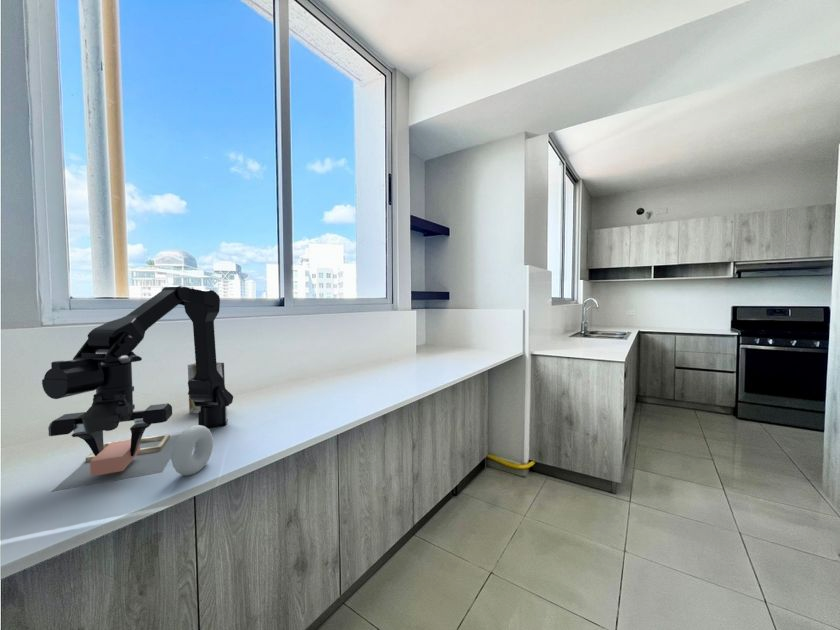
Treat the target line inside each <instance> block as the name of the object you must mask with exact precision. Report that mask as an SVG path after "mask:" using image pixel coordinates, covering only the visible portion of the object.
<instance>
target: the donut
mask: <svg viewBox="0 0 840 630" xmlns="http://www.w3.org/2000/svg"><path fill="white" fill-rule="evenodd" d="M180 434H181V435H180V436H179V437H178V439H177V441H176V443H175V445H174V448H173V451H172V457H171V462H172V466H173V468H174V470H175V472H176V473H177V474H179V475H181V476H193V475H195V474H196V473H198V472H200V471H201V470H202V469H203V468H204V467H205V466H206V464H208V462H209V460H210V458H211V455H212V452H213V448H214V439H213V434H212V432H211V431H210V429H208V428H207V427H205V426H201V425H198V424H196V425H192V426H189V427H188V428H186V429H185V430H183V431H182V432H181V433H180ZM193 449H194V452H193Z"/></svg>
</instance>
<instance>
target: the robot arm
mask: <svg viewBox="0 0 840 630" xmlns="http://www.w3.org/2000/svg"><path fill="white" fill-rule="evenodd" d="M178 305H180V306H184V312H185V314H186V315H187V317H188V318H189V319H190V321H191V322H192V328H193V343H194V357H195V358H194V359H195V363H196V374H195V376H194V378H193V379H192V380H189V381H188V380H187V387H188V392H187V395H188V396H189V395H190V397H191V399H192V400H193V402H194V405H195V406H196V407H197V406H201V408H200V411H199V413H197V415H198V416H197V418H198V419H197V422H198V424H197V425H201V426H205V427H207V428H208V429H209V430H210V429H215V428H223V427H227V425H228V421H229V419H228V408H227V407H230V405H231V404H233V401H234V395H233V394H232V393H231V392H230V391H229V390H227V388H226V384H224V379H223V378H222V376H221V375H220V374H219V372H218V371H217V364H216V362H217V353H216V352H217V351H216V337H215V323H214V322H215V319H216V318H217V316H218V314H219V313H220V307H221V306H220V305H221V298H220V295H219V294H218V293H217V292H216V291H215V290H212V289H195V288H191V287H187V286H183V285H167V286H165V287H163V288H162V289H161V291H159V292H158V293H157V294H155V295H154V296H153V297H151V298H149V299H148V300H147V301H145V302H143V303H142V304H141V305H139V306H138V307H137V308H136V309H134V310H133V311H131V312H130V313H128V314H127V315H125V316H122V317H121V318H117V319H114V320H111V321H108V322H106V323H103V324H101V325H99V326H97V327H95V328H92V330H90V332H88V333H87V339H86V341H85V342H84V343H83V345H82V346H81V348H80V349H79V350H78V351H77V353H76V354H75V355H74V356H73V358H72V359H71V360H56V361H55V360H54V361H52V362H50V365H51V368H50V369H48V370H47V371H46V373H45V374H44V377H43V379H42V380H41V385H42V388H43V392H44V393H45V394H46V396H47V397H49V398H50V399H53V400H59V399H63V398H66V397H73V396H76V395H81V394H85V393H90V392H93V391H95V394H93V398H92V404H91V406H90V407H88V409H87V410H86V411H83V412H73V413H65V414H63V415H61V416H59V417H58V418H55V419H53V420H52V421H51V422H50V423H49V425H48V427H47V428H48V436H49V437H57V436H63V435H70V434H71V433H72V432H73V433H72V434H71V435H70V436H71V437H72V438H79V439H82V440H83V441H84V442H85V443H86V444H87V446H88V447H89V448H90V450H91V452H93V453H94V455H95V456H97V455H98V454H99V453H100V452H101V451H102V450H103V449H104V444H103V443H104V431H105V432H110V431H113V430H115V429H117V428H118V426H119V424H120V423H123V422H132V421H133V422H134V424H133V425H132V426H131V427H130V428H129V430H130V434H131V436H130V437H131V438H130V439H131V448H130V452H131V456H134V455H135V453H136V450H137V448H138V445H139V443H140V440H141V438H143V435H144V433H145V431H146V429H148V428H149V427H151V425H155V424H160V423H161V424H162V423H166V422H167V421H168V420H169V419H170V418H171V417H172V415H173V407H172V405H171V404H170V403H160V404H159V403H157V404H150V405H149V406H148V407H147V408H146V409H144V410H135V409H136V408H135V403H134V398H133V397H134V396H133V394H134V391H135V386H134V385H133V370H132V369H133V368H132V365H133V364H132V363H136V362H141V361H142V359H143V358H142V357H141V356H139V355H137V354H136V353H135V352H133V351H134V350H135V349H136V348H137V347H138V346H139V344H140V343H141V342H142V341H143V340H144V337H145V334H146V332H147V330H149V329H150V328H151V327H152V326H153V325H155V324H156V323H157V322H159V320H161V319H162V318H163V317H164V316H166V315H167V314H168V313H170V312H171V311H172V310H173V309H175V308H176V307H177V306H178ZM134 410H135V411H134Z"/></svg>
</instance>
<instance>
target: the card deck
mask: <svg viewBox="0 0 840 630" xmlns="http://www.w3.org/2000/svg"><path fill="white" fill-rule="evenodd" d="M123 440H124V441H123ZM123 440H116V441H117V442H115V441H110V442H111V443H110V444H109V445H108V446H107V447H106V448H104V449H103V450H102V451H101V452H100V453H99V454H98V455H97V456H95V457H94V458H93V459H92V460H91V461H90V474H91V476H96V475H102V474H108V473H114V472H120V471H123V470H124V469H125V468H126V467H127V466H128V465H129V463H130V462H131V461H132V460H133V459H134V458H135V456H136V455H137V454H138V453H139V452H140V443H139V445H138V448H137V450H136V453H135V455H134V456H131V452H130V448H131V440H130V439H123Z"/></svg>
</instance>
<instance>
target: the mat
mask: <svg viewBox="0 0 840 630" xmlns="http://www.w3.org/2000/svg"><path fill="white" fill-rule="evenodd" d="M181 434H182V433H180V434H173V435H170V439H169V440H168V441H167V443H166V444H165V446H164V447H163V448H162V450H161V451H156V452H150V453H143V454H137V455H136V456H135V458H134V459H133V460H132V461H131V462H130V463H129V465H128V466H127V467H126V468H125V469H124V470H123V471H120V472H114V473H108V474H102V475H96V476H91V474H90V462H86V461H85V462H84V463H82V464H81V465H80V466H78V468H76V469H75V470H74V471H73V472H71V474H69V476H67V477H66V478H65V479H64V480H62V482H60V483H59V484H58V485H57V486H55V488H53V489H52V490H51V492H55V491H56V492H57V491H63V490H68V489H69V490H70V489H75V488H79V487H80V488H81V487H84V486H91V485H96V484H103V483H108V482H114V481H120V480H127V479H132V478H136V477H137V478H138V477H143V476H148V475H154V474H160V473H163V472H164V470H165V468H166V467H167V465H168V463H169V462H170V461H171V460H172V451H173V448H174V445H175V443H176V441H177V439H178V437H179V436H180V435H181ZM161 441H162V440H158V441H151V442H144V443H140V449H141V448H147V447H154V446H158V445H159V443H160V442H161Z"/></svg>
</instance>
